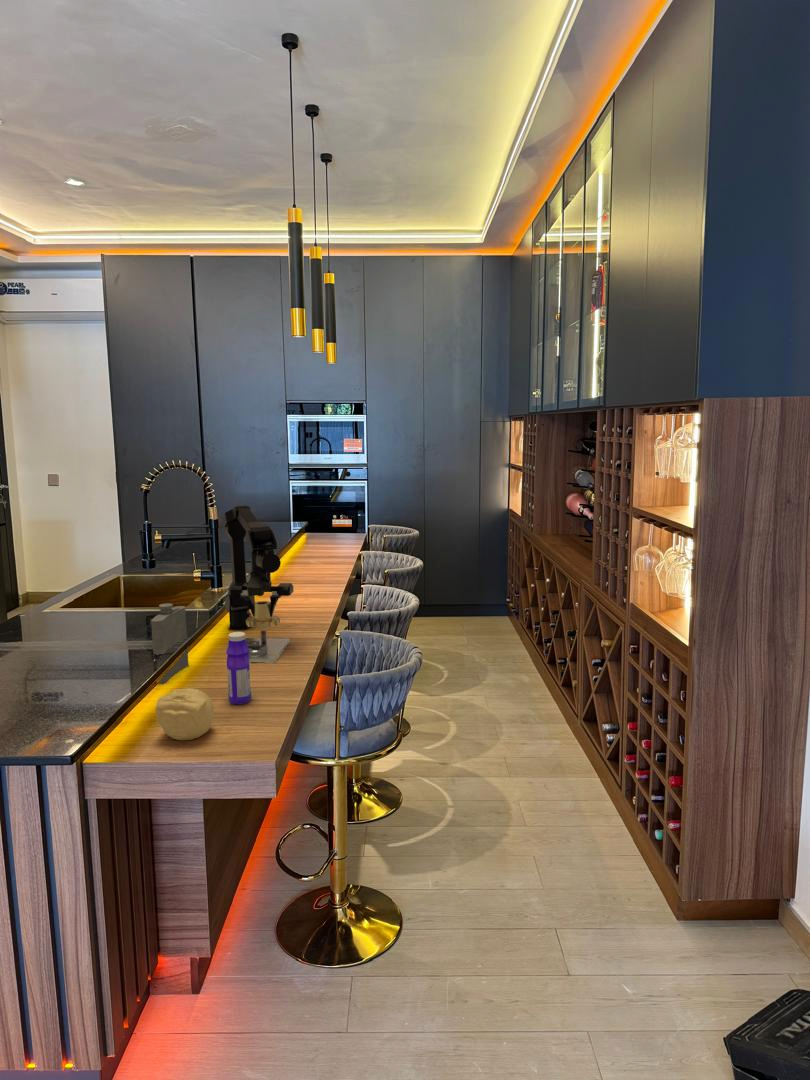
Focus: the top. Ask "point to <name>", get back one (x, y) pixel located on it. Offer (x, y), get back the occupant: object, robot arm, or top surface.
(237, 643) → the bottle
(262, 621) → the gear
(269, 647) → the carrier plate
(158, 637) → the hip flask
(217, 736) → the top surface
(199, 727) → the sculpture
